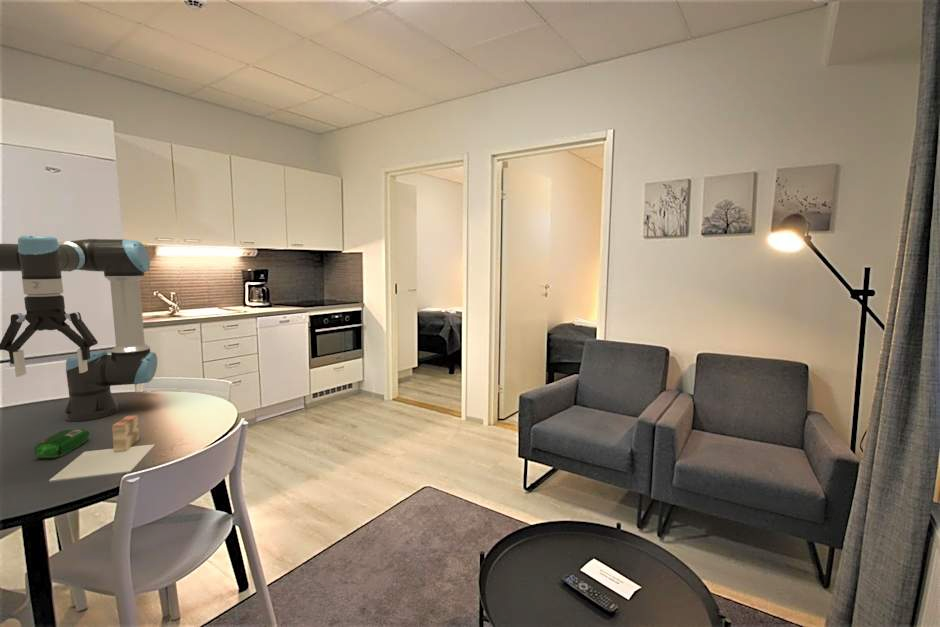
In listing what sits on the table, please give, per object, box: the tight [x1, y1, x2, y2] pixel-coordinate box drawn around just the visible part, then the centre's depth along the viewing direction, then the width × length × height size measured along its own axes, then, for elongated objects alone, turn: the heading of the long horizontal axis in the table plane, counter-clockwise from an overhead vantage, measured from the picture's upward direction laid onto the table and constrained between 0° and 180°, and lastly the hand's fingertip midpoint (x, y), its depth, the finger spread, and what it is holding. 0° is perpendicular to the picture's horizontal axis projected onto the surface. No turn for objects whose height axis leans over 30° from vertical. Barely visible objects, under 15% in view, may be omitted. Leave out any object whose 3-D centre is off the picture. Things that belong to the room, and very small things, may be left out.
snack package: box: [33, 428, 90, 459], centre depth 133 cm, size 7×16×5 cm, turn 8°
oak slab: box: [111, 414, 140, 452], centre depth 136 cm, size 10×3×8 cm, turn 18°
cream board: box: [48, 444, 156, 483], centre depth 126 cm, size 18×18×1 cm
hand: (53, 373), depth 118 cm, fingers open, 13 cm apart
